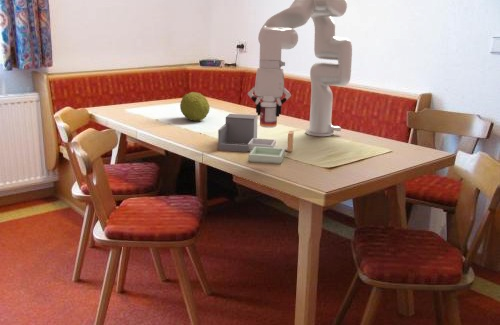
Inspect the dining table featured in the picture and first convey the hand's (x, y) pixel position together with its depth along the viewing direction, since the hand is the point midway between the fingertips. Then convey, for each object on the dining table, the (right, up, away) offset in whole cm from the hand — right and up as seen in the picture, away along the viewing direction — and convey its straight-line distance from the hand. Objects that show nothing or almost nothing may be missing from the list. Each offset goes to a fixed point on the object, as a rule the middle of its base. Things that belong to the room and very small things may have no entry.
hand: (268, 114), depth 174 cm
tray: (0, -16, +5) cm, 16 cm away
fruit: (-34, +4, +67) cm, 76 cm away
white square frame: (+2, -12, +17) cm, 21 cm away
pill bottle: (0, -4, +1) cm, 4 cm away
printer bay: (-11, -10, +23) cm, 27 cm away
